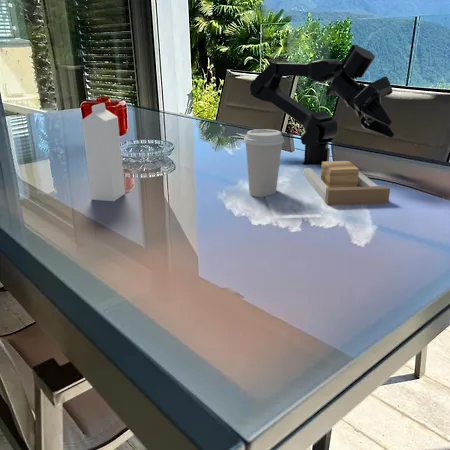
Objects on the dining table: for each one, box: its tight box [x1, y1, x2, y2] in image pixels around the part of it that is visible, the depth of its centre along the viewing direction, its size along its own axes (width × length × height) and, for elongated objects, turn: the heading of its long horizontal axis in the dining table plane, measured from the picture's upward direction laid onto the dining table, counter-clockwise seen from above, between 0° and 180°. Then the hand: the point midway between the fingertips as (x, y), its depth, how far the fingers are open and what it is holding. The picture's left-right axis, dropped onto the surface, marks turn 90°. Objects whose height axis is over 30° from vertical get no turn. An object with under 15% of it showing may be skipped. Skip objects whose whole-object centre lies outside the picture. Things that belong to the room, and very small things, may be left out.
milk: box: [81, 102, 126, 202], centre depth 107 cm, size 6×6×22 cm
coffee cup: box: [243, 128, 285, 199], centre depth 110 cm, size 10×10×15 cm
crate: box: [320, 160, 360, 188], centre depth 116 cm, size 8×7×5 cm
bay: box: [302, 167, 391, 206], centre depth 114 cm, size 24×14×4 cm, turn 4°
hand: (391, 130), depth 118 cm, fingers open, 9 cm apart
